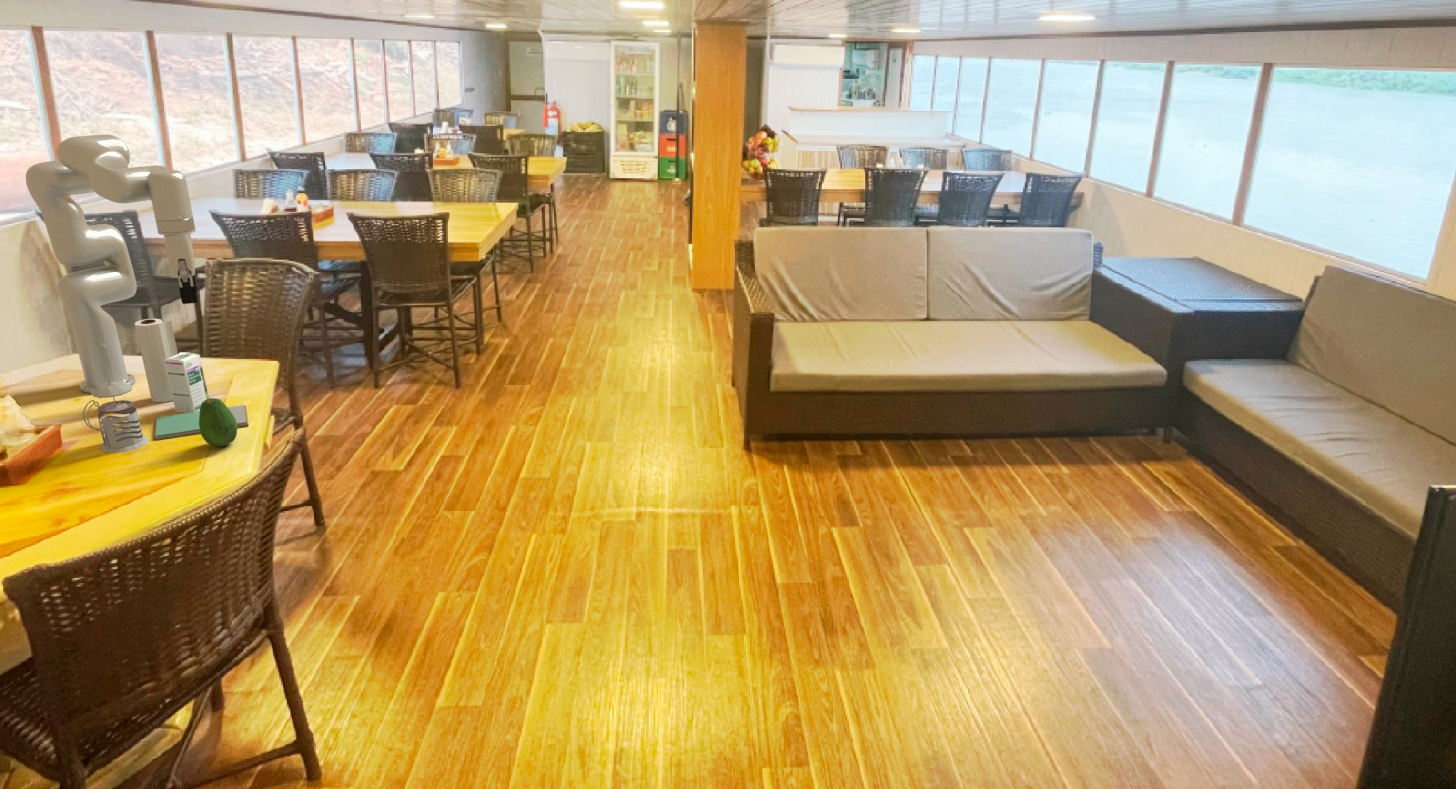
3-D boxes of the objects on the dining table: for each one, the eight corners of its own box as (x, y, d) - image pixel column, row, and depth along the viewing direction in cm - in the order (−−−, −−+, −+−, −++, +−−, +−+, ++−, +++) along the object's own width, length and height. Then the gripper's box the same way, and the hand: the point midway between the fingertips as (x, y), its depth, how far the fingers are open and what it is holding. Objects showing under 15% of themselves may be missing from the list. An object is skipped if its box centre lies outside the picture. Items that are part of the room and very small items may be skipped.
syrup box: (194, 414, 230) (183, 360, 224) (174, 412, 231) (163, 358, 225) (211, 406, 235) (200, 353, 230) (191, 403, 236) (180, 351, 231)
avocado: (199, 443, 214) (190, 397, 210) (236, 435, 219) (227, 389, 214) (207, 455, 209) (197, 408, 204) (244, 447, 213) (235, 400, 209)
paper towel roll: (146, 401, 237) (128, 323, 229) (166, 393, 242) (149, 316, 234) (167, 405, 235) (150, 326, 226) (187, 397, 240) (171, 320, 232)
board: (156, 420, 226) (155, 416, 225) (245, 407, 235) (245, 404, 234) (154, 440, 215) (153, 436, 215) (248, 426, 224) (247, 422, 224)
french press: (157, 441, 215) (135, 341, 205) (105, 459, 205) (79, 355, 196) (135, 431, 219) (112, 333, 210) (83, 448, 210) (56, 347, 201)
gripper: (157, 219, 213) (171, 290, 219) (156, 234, 199) (171, 309, 205) (193, 217, 216) (206, 286, 223) (195, 232, 202) (209, 305, 209)
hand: (189, 297), depth 214 cm, fingers open, 9 cm apart
